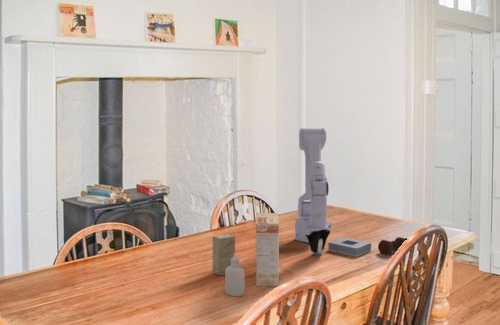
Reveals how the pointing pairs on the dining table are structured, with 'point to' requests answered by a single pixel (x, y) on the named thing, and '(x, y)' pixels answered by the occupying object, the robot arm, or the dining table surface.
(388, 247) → the bolt
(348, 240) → the hole block
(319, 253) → the pin
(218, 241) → the skincare box
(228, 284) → the eye dropper bottle
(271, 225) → the coffeecake box
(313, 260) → the dining table surface
